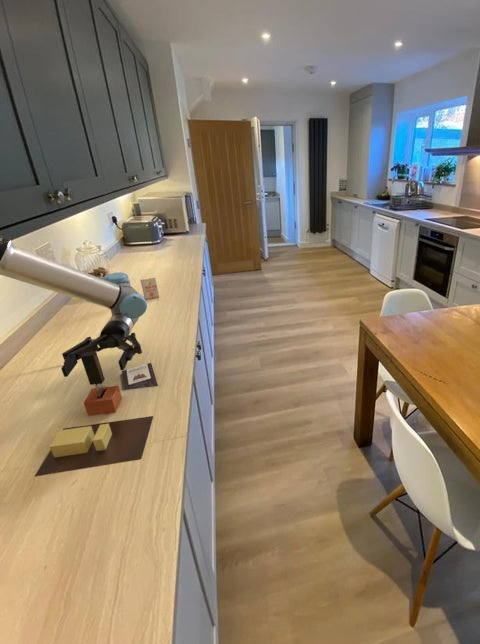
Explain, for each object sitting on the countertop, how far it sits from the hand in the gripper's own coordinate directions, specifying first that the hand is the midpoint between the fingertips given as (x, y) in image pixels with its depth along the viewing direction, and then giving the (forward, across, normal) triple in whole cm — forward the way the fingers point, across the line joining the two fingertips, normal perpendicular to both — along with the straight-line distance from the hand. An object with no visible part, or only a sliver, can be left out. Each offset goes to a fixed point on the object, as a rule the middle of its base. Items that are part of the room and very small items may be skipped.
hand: (93, 369), depth 85 cm
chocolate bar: (-11, -7, -14) cm, 19 cm away
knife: (0, 0, -14) cm, 14 cm away
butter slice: (+13, -4, -13) cm, 19 cm away
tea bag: (-84, +4, -14) cm, 85 cm away
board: (+13, -3, -14) cm, 20 cm away
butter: (+13, +3, -13) cm, 19 cm away
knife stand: (0, 0, -14) cm, 14 cm away
